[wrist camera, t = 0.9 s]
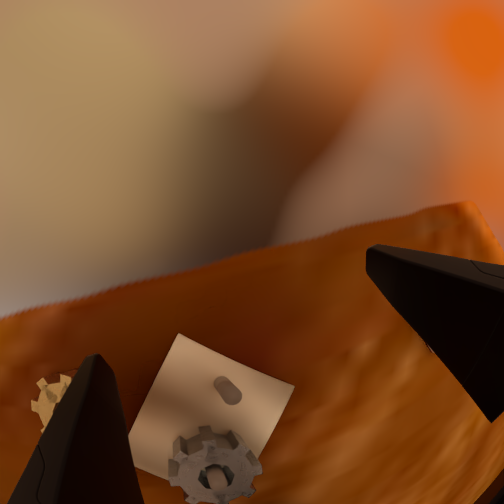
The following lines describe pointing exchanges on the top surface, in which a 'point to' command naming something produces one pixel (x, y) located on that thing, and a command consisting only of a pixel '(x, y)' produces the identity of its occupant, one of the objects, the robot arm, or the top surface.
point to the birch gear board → (204, 406)
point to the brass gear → (51, 394)
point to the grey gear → (213, 452)
